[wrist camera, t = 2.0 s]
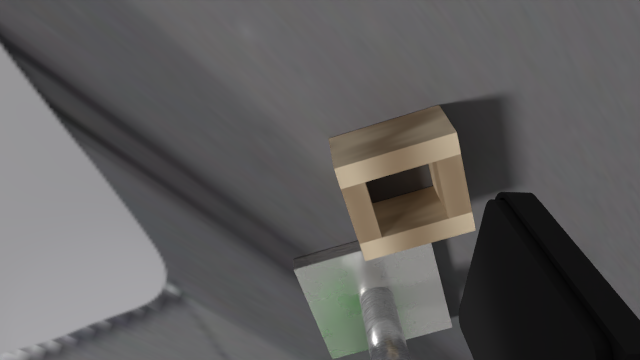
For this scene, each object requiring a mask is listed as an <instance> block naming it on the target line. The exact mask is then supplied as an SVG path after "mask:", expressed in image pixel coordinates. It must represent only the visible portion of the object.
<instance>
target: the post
mask: <svg viewBox="0 0 640 360" xmlns="http://www.w3.org/2000/svg"><path fill="white" fill-rule="evenodd" d="M293 263H294V271H295V274H296V276H297V278H298V281H299V283H300V285H301V287H302V290H303V292H304V294H305V297H306V299H307V301H308V304H309V306H310V308H311V311H312V313H313V315H314V318H315V320H316V322H317V324H318V327H319V329H320V331H321V334H322V336H323V338H324V341H325V343H326V345H327V348H328V350H329V352H330V355H331V357H332V359H335V358H338V357H342V356H346V355H350V354H353V353H357V352H361V351H365V350H368V349H369V352H370V358H371V360H411V359H410V355H409V351H408V348H407V344H406V339H410V338H414V337H417V336H421V335H425V334H429V333H432V332H436V331H440V330H444V329H447V328H451V327H452V324H451V320H450V316H449V312H448V308H447V304H446V300H445V296H444V292H443V288H442V284H441V280H440V276H439V272H438V268H437V264H436V260H435V256H434V252H433V248H432V244H431V243H428V244H425V245H421V246H418V247H414V248H411V249H407V250H404V251H400V252H397V253H393V254H389V255H386V256H382V257H379V258H375V259H372V260H368V261H365V259H364V256H363V253H362V250H361V247H360V244H359V241H355V242H352V243H348V244H345V245H341V246H338V247H334V248H331V249H327V250H324V251H320V252H317V253H313V254H310V255H306V256H303V257H299V258H296V259H293Z"/></svg>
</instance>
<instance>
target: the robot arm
mask: <svg viewBox="0 0 640 360" xmlns="http://www.w3.org/2000/svg"><path fill="white" fill-rule="evenodd" d="M459 323H460V327H461V330H462V333H463V335H464V337H465V340H466V342H467V344H468V347H469V349H470V351H471V354H472V356H473V358H474V360H640V320H639V319H638V318H637V316H636V315H635V314H634V313H633V312H632V310H631V309H630V308H629V307H628V306H627V304H626V303H625V302H624V301H623V300H622V299H621V297H620V296H619V295H618V294H617V293H616V291H615V290H614V289H613V288H612V287H611V285H610V284H609V283H608V282H607V281H606V280H605V278H604V277H603V276H602V275H601V274H600V272H599V271H598V270H597V269H596V268H595V266H594V265H593V264H592V263H591V262H590V260H589V259H588V258H587V257H586V256H585V255H584V253H583V252H582V251H581V250H580V249H579V247H578V246H577V245H576V244H575V243H574V241H573V240H572V239H571V238H570V237H569V235H568V234H567V233H566V232H565V231H564V230H563V228H562V227H561V226H560V225H559V224H558V222H557V221H556V220H555V219H554V218H553V216H552V215H551V214H550V213H549V212H548V210H547V209H546V208H545V207H544V206H543V205H542V203H541V202H540V201H539V200H538V199H537V197H536V196H535V195H534V194H532V193H521V192H500V193H499V194H498V195H497V196H496V198H495V200H494V199H491V200H489V201H488V202H487V204H486V207H485V210H484V214H483V218H482V222H481V226H480V230H479V234H478V238H477V242H476V246H475V250H474V254H473V257H472V261H471V265H470V269H469V273H468V277H467V281H466V285H465V289H464V293H463V297H462V301H461V305H460V309H459Z"/></svg>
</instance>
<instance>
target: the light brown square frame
mask: <svg viewBox="0 0 640 360" xmlns="http://www.w3.org/2000/svg"><path fill="white" fill-rule="evenodd" d="M329 144H330V150H331V155H332V160H333V166H334V170H335V173H336V176H337V179H338V182H339V185H340V188H341V191H342V194H343V197H344V200H345V203H346V206H347V209H348V212H349V214H350V217H351V220H352V223H353V226H354V229H355V232H356V235H357V238H358V241H359V244H360V247H361V250H362V253H363V256H364V259H365V261H368V260H372V259H375V258H379V257H382V256H386V255H389V254H393V253H397V252H400V251H404V250H407V249H411V248H414V247H418V246H421V245H425V244H428V243H432V242H436V241H439V240H443V239H446V238H450V237H453V236H457V235H460V234H464V233H468V232H471V231H475V225H474V219H473V214H472V209H471V204H470V198H469V193H468V188H467V183H466V178H465V172H464V167H463V162H462V157H461V152H460V146H459V141H458V136H457V132H456V130H455V129H454V127H453V126H452V124H451V123H450V121H449V119H448V118H447V116H446V115H445V113H444V112H443V110H442V109H441V107H440V106H439V105H437V106H434V107H430V108H427V109H424V110H421V111H417V112H414V113H411V114H408V115H404V116H401V117H398V118H394V119H391V120H388V121H385V122H381V123H378V124H375V125H371V126H368V127H365V128H362V129H358V130H355V131H352V132H348V133H345V134H342V135H339V136H335V137H332V138H329ZM425 164H428V165H429V169H430V173H431V178H432V182H433V186H431V187H428V188H424V189H421V190H417V191H414V192H411V193H407V194H404V195H400V196H397V197H393V198H390V199H387V200H383V201H380V202H376V203H372V200H371V197H370V194H369V190H368V187H367V184H366V182H368V181H371V180H374V179H378V178H381V177H384V176H388V175H391V174H395V173H398V172H401V171H405V170H408V169H412V168H415V167H418V166H422V165H425Z"/></svg>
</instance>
